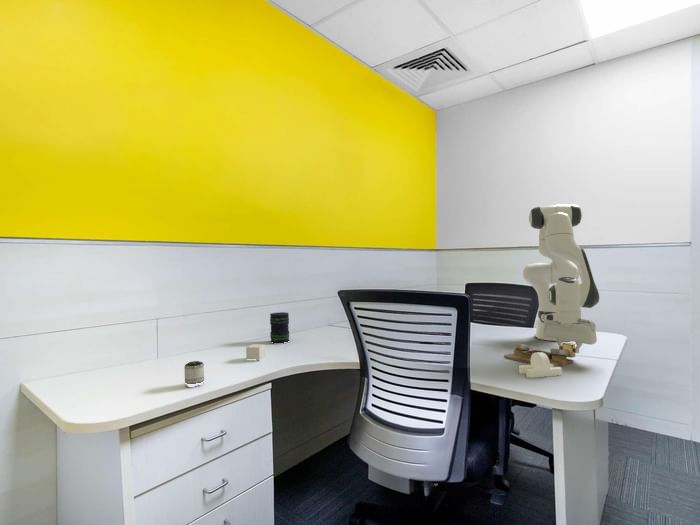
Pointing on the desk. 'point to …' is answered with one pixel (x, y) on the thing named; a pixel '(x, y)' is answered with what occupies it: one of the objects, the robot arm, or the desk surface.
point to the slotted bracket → (540, 367)
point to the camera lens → (194, 372)
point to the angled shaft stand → (559, 354)
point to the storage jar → (279, 327)
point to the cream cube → (255, 351)
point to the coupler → (569, 349)
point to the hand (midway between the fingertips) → (568, 351)
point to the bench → (525, 354)
